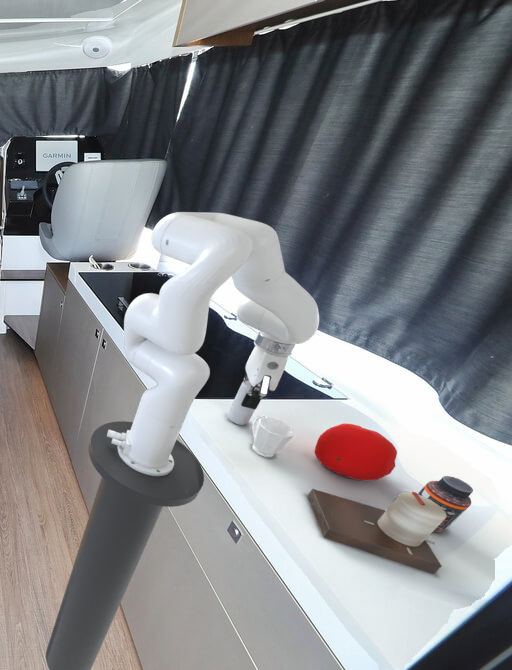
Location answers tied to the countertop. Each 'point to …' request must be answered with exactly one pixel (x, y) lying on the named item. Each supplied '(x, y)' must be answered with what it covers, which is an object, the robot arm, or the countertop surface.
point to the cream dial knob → (411, 518)
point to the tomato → (356, 452)
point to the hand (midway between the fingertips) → (246, 400)
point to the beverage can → (239, 412)
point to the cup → (270, 435)
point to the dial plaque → (366, 531)
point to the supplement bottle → (448, 498)
